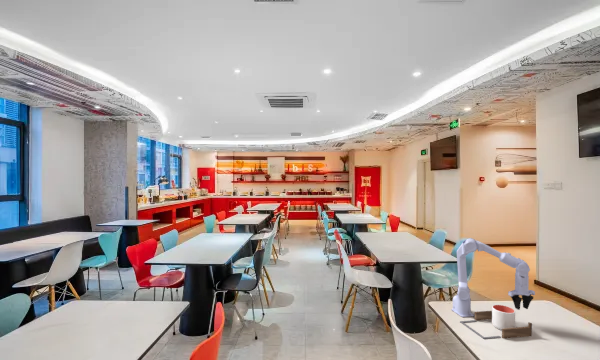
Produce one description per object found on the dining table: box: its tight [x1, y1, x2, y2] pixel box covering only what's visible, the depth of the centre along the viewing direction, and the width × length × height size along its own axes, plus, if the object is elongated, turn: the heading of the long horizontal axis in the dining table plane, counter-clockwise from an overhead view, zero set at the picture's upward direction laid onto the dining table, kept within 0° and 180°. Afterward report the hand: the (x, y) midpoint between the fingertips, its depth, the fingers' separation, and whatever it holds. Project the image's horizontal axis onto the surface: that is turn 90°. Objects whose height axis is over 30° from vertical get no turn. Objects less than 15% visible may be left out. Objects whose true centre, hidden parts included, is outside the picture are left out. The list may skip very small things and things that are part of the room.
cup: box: [491, 304, 516, 331], centre depth 152 cm, size 10×10×10 cm
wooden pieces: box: [474, 310, 533, 340], centre depth 152 cm, size 19×16×6 cm
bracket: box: [459, 319, 502, 340], centre depth 150 cm, size 17×10×1 cm, turn 9°
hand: (521, 308), depth 154 cm, fingers open, 4 cm apart
